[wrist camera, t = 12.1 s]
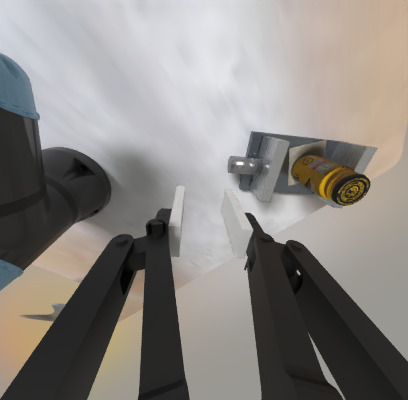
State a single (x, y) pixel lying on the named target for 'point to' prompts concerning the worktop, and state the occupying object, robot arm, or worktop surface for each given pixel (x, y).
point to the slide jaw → (262, 166)
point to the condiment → (325, 175)
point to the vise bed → (334, 151)
